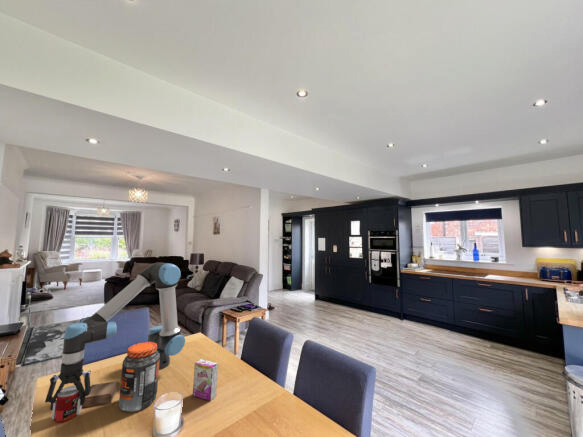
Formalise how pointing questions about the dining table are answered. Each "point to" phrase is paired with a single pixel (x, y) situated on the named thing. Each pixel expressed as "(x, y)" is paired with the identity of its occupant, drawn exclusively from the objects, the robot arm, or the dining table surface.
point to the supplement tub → (139, 377)
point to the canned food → (66, 404)
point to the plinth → (101, 394)
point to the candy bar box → (205, 379)
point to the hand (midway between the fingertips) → (66, 414)
